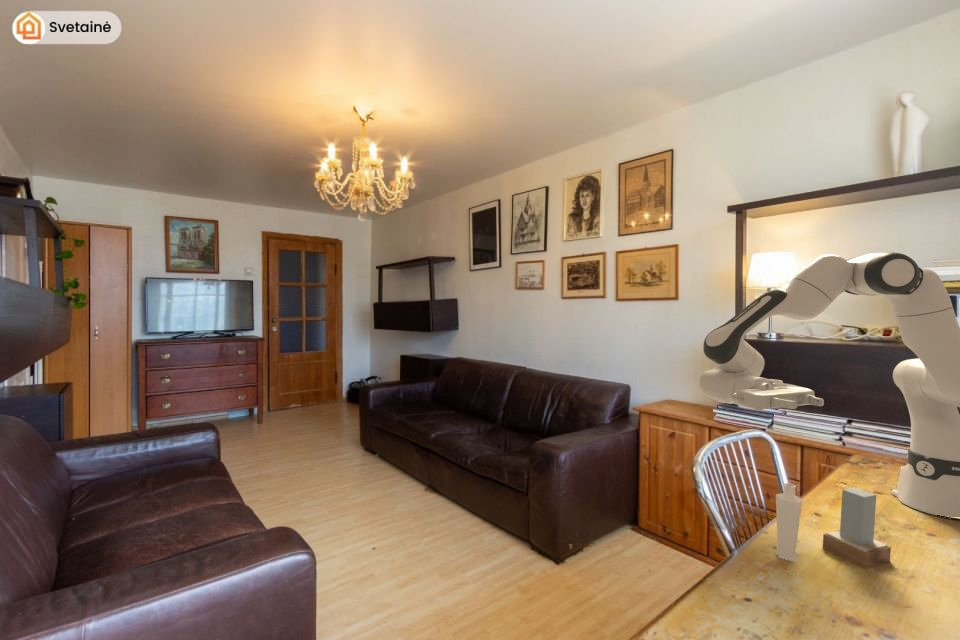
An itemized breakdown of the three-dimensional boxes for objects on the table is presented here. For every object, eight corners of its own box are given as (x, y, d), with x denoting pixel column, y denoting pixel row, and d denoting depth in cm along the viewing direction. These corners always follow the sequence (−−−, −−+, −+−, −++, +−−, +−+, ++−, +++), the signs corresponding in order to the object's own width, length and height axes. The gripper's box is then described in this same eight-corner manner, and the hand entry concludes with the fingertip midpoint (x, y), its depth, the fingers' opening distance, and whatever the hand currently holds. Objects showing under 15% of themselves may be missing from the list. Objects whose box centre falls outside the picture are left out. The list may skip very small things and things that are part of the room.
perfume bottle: (804, 564, 91) (808, 490, 90) (780, 561, 92) (784, 488, 91) (793, 551, 95) (797, 482, 95) (770, 549, 96) (774, 479, 95)
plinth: (846, 541, 100) (847, 527, 100) (889, 561, 93) (890, 545, 92) (822, 547, 97) (823, 532, 97) (865, 568, 90) (866, 552, 90)
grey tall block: (851, 532, 97) (854, 487, 97) (873, 542, 94) (876, 494, 93) (839, 535, 96) (842, 489, 96) (861, 545, 92) (864, 497, 92)
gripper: (726, 383, 116) (778, 393, 103) (781, 379, 123) (836, 388, 110) (725, 407, 116) (777, 420, 103) (780, 402, 124) (835, 414, 111)
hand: (808, 404), depth 107 cm, fingers open, 8 cm apart
